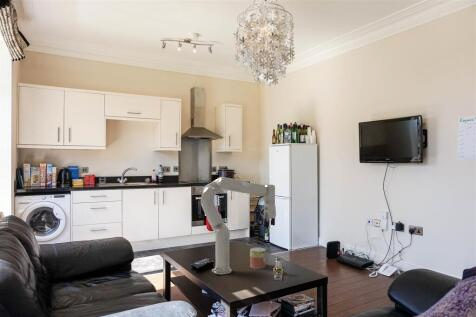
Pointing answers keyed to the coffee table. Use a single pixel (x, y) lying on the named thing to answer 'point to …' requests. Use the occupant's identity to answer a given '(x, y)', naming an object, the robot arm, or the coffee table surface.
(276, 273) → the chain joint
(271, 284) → the coffee table surface
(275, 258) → the pin
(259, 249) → the canned food
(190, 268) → the coffee table surface
